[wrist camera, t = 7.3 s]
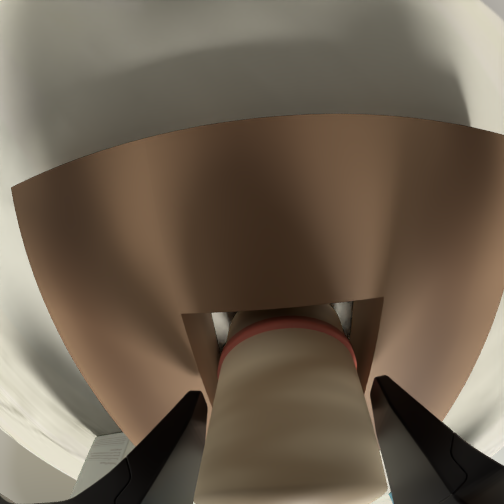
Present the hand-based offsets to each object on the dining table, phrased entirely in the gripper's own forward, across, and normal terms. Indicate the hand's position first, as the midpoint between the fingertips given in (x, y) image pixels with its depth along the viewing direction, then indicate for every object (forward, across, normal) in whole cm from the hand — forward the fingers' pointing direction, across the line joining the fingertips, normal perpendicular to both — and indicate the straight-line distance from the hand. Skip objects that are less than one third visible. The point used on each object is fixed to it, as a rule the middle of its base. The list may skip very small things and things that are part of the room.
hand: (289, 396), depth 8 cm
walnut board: (+4, 0, 0) cm, 4 cm away
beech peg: (+4, 0, 0) cm, 4 cm away
